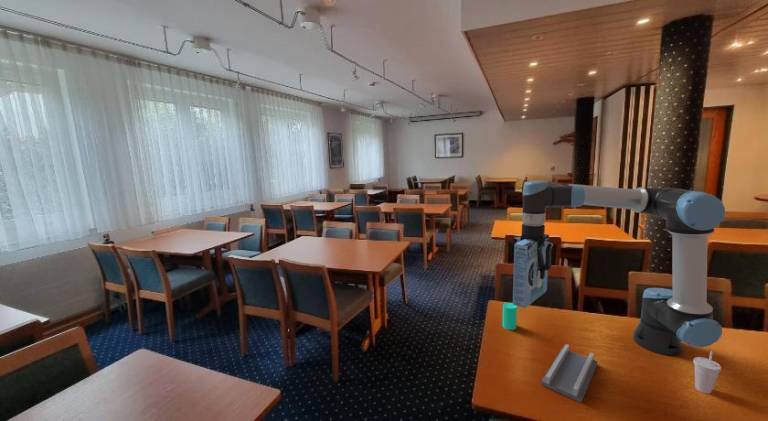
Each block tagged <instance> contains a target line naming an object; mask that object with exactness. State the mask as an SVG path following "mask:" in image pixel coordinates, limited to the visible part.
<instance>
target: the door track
mask: <svg viewBox="0 0 768 421" xmlns="http://www.w3.org/2000/svg"><path fill="white" fill-rule="evenodd" d="M556 355H557V356H556V357H555V359H554V360H553V362H552V364H551V365H550V366H549V368H548V370H547V371H546V372H545V375H543V378H542V379H541V381H540V382H541V383H540V385H541V386H543V387H546V388H547V389H549V390H552V391H554V392H556V393H557V394H560V395H563V396H565V397H568V398H569V399H572V400H573V401H576V402H578V403H582V402H583V400H584V397H585V395H586V392H587V390H588V387H589V385H590V383H591V381H592V379H593V376H594V374H595V371H596V368H597V366H598V360H596V359H595V358H594V357H595V356H594V355H595V354H594V353H593V352H589V354H588V356H584V355H582V354H578V353H575V352H572V351H570V344H566V343H565V344H564V346H563V347H562V348H560V351H559V352H558V354H556Z"/></svg>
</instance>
